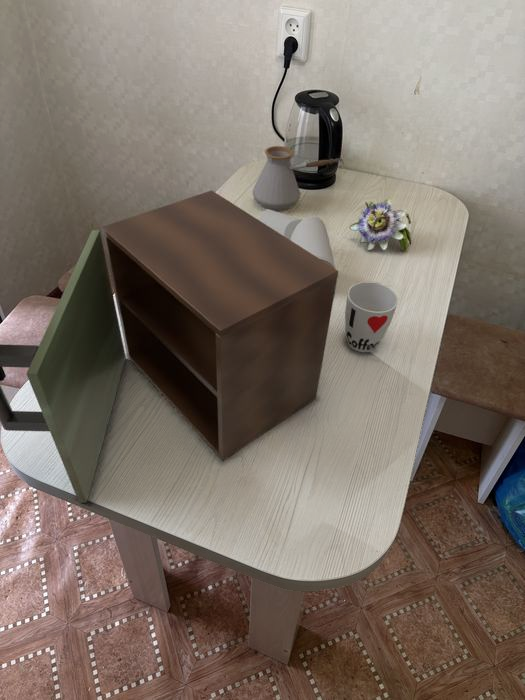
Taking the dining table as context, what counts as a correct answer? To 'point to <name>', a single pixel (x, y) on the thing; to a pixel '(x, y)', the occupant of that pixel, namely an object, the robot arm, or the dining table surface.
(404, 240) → the passion flower
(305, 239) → the elbow connector
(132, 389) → the dining table surface
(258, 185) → the coffee pot
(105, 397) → the cabinet door
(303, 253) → the cabinet
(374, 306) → the cup
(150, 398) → the dining table surface
